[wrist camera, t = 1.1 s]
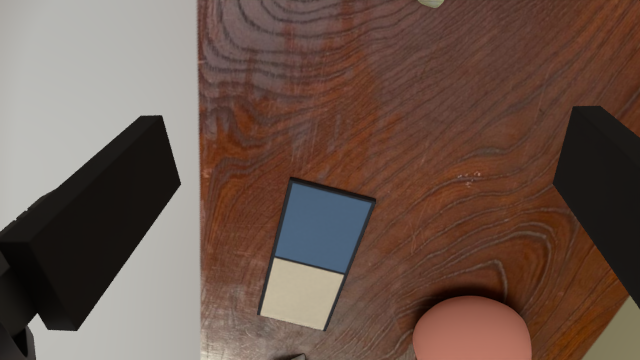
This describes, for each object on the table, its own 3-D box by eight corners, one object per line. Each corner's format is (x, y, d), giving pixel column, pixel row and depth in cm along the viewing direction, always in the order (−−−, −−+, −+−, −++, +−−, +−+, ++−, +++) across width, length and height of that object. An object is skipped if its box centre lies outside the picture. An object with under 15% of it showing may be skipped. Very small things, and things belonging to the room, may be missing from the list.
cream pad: (274, 257, 46) (274, 258, 46) (344, 274, 46) (343, 275, 46) (260, 314, 51) (260, 315, 51) (322, 329, 51) (322, 330, 51)
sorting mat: (290, 176, 41) (289, 180, 40) (376, 198, 41) (376, 202, 40) (257, 310, 51) (256, 315, 51) (326, 327, 52) (325, 332, 51)
